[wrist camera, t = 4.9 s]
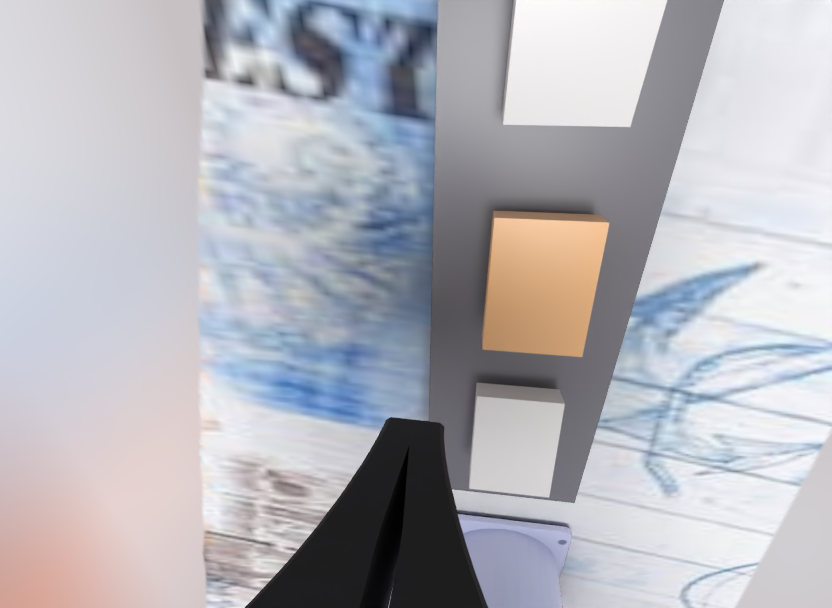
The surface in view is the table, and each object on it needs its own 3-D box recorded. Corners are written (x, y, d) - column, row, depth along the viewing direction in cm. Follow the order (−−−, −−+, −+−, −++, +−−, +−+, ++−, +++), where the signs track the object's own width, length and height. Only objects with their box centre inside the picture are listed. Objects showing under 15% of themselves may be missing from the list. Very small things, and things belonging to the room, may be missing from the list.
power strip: (563, 452, 23) (576, 510, 20) (433, 439, 24) (426, 493, 21) (763, -336, 10) (884, -504, 7) (455, -308, 10) (445, -448, 8)
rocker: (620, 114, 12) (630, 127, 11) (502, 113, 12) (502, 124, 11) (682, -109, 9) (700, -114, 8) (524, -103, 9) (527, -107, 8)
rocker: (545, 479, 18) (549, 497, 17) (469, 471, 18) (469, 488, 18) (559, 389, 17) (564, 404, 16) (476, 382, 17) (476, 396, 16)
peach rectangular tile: (575, 341, 15) (582, 357, 14) (482, 335, 15) (482, 349, 14) (600, 214, 13) (609, 222, 12) (493, 210, 13) (494, 217, 12)
